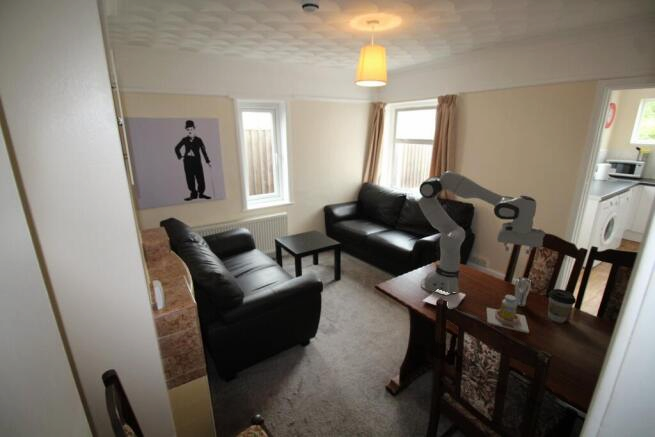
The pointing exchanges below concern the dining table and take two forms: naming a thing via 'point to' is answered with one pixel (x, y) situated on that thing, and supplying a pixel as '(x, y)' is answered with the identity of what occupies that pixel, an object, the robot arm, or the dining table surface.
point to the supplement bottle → (508, 308)
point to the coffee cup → (560, 304)
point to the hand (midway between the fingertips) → (516, 251)
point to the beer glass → (522, 290)
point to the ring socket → (517, 324)
